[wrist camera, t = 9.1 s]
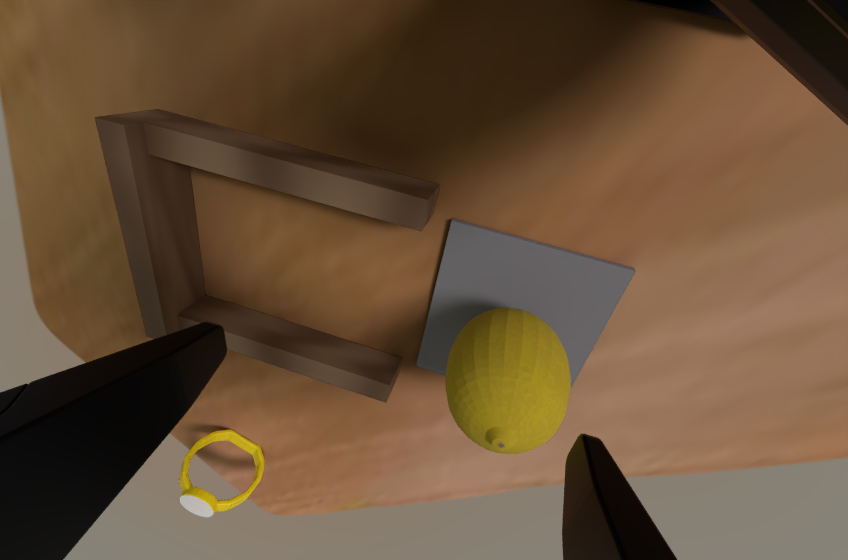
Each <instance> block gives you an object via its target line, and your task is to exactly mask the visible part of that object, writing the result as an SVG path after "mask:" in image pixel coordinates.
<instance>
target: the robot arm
mask: <svg viewBox="0 0 848 560" xmlns="http://www.w3.org/2000/svg"><path fill="white" fill-rule="evenodd" d="M627 1H632V2H637V3H642V4H646V5H651V6H656V7H661V8H666V9H671V10H676V11H681V12H686V13H691V14H696V15H700V16H705V17H710V18H715V19H720V20H725V21H730V22H734V23H736V24H737V25H738V26H739V27H740V28H741V29H742V30H743V31H744V32H745V33H747V34H748V35H749V36H750V37H751V38H752V39H753V40H754V41H755V42H756V43H758V44H759V45H760V46H761V47H762V48H763V49H764V50H765V51H766V52H767V53H769V54H770V55H771V56H772V57H773V58H774V59H775V60H776V61H777V62H778V63H780V64H781V65H782V66H783V67H784V68H785V69H786V70H787V71H788V72H789V73H791V74H792V75H793V76H794V77H795V78H796V79H797V80H798V81H799V82H800V83H802V84H803V85H804V86H805V87H806V88H807V89H808V90H809V91H810V92H812V93H813V94H814V95H815V96H816V97H817V98H818V99H819V100H820V101H821V102H823V103H824V104H825V105H826V106H827V107H828V108H829V109H830V110H831V111H832V112H834V113H835V114H836V115H837V116H838V117H839V118H840V119H841V120H842V121H843V122H845V123H846V124H847V125H848V0H627ZM226 353H227V345H226V339H225V332H224V328H223V327H222V326H221V325H219V324H216V323H212V322H202V323H199V324H197V325H194V326H191V327H188V328H185V329H182V330H179V331H176V332H174V333H171V334H168V335H165V336H162V337H159V338H156V339H153V340H151V341H148V342H145V343H142V344H139V345H136V346H133V347H130V348H128V349H125V350H122V351H119V352H116V353H113V354H110V355H107V356H104V357H102V358H99V359H96V360H93V361H90V362H87V363H84V364H82V365H79V366H76V367H73V368H70V369H67V370H65V371H61V372H58V373H56V374H53V375H50V376H47V377H44V378H41V379H38V380H35V381H33V382H31V383H29V384H24V385H21V386H18V387H15V388H12V389H9V390H6V391H4V392H1V393H0V560H63V559H64V558H65V557H66V556H67V554H68V553H69V552H70V551H71V550H72V548H73V547H74V546H75V545H76V544H77V543H78V541H79V540H80V539H81V538H82V537H83V535H84V534H85V533H86V532H87V531H88V529H89V528H90V527H91V526H92V525H93V523H94V522H95V521H96V520H97V519H98V517H99V516H100V515H101V514H102V513H103V511H104V510H105V509H106V508H107V507H108V506H109V504H110V503H111V502H112V501H113V500H114V498H115V497H116V496H117V495H118V494H119V492H120V491H121V490H122V489H123V488H124V486H125V485H126V484H127V483H128V482H129V481H130V479H131V478H132V477H133V476H134V475H135V473H136V472H137V471H138V470H139V469H140V467H141V466H142V465H143V464H144V463H145V462H146V460H147V459H148V458H149V457H150V456H151V454H152V453H153V452H154V451H155V449H156V448H157V447H158V446H159V445H160V444H161V442H162V441H163V440H164V439H165V437H166V436H167V435H168V434H169V433H170V432H171V431H172V429H173V428H174V427H175V426H176V425H177V423H178V422H179V421H180V420H181V419H182V417H183V416H184V415H185V414H186V412H187V411H188V410H189V409H190V407H191V406H192V405H193V403H194V402H195V401H196V399H197V398H198V396H199V395H200V393H201V392H202V390H203V389H204V387H205V386H206V384H207V383H208V382H209V380H210V379H211V377H212V376H213V374H214V373H215V371H216V370H217V368H218V367H219V366H220V364H221V363H222V361H223V360H224V358H225V356H226ZM562 527H563V528H562V540H563V560H677V558H676V557H675V555H674V554H673V552H672V551H671V549H670V547H669V546H668V544H667V543H666V541H665V540H664V538H663V537H662V535H661V533H660V532H659V530H658V529H657V527H656V525H655V524H654V522H653V521H652V519H651V517H650V516H649V514H648V513H647V511H646V510H645V508H644V506H643V505H642V503H641V502H640V500H639V499H638V497H637V496H636V494H635V492H634V491H633V489H632V488H631V486H630V485H629V483H628V481H627V480H626V478H625V477H624V475H623V474H622V472H621V470H620V469H619V467H618V466H617V464H616V463H615V461H614V459H613V458H612V456H611V455H610V453H609V452H608V450H607V448H606V447H605V445H604V444H603V442H602V441H601V440H600V439H599V438H597V437H593V436H590V435H587V434H580V435H579V436H578V438H577V440H576V441H575V443H574V445H573V447H572V448H571V450H570V452H569V454H568V456H567V460H566V468H565V486H564V505H563V525H562Z"/></svg>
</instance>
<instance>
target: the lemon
mask: <svg viewBox="0 0 848 560" xmlns="http://www.w3.org/2000/svg"><path fill="white" fill-rule="evenodd" d="M445 383H446V392H447V399H448V405H449V408H450V411H451V413H452V415H453V417H454V419H455V421H456V423H457V425H458V426H459V428H460V429H461V430H462V431H463V432H464V433H465V434H466V436H467V437H468V438H470V439H471V440H472V441H474V442H475V443H476V444H478V445H479V446H481V447H483V448H485V449H487V450H490V451H493V452H497V453H503V454H518V453H523V452H527V451H530V450H532V449H535V448H537V447H539V446H540V445H542V444H544V443H545V442H546V441H547V440H548V439H550V438H551V437H552V436H553V434H554V433H555V432H556V430H557V429H558V427H559V425H560V424H561V422H562V420H563V418H564V415H565V413H566V409H567V404H568V400H569V395H570V388H571V376H570V369H569V363H568V358H567V354H566V352H565V349H564V347H563V345H562V343H561V341H560V340H559V338H558V336H557V334H556V333H555V332H554V331H553V330H552V329H551V328H550V327H549V325H548V324H547V323H546V322H545V321H543V320H542V319H540V318H539V317H537V316H536V315H534V314H532V313H529V312H527V311H524V310H521V309H515V308H496V309H493V310H489V311H486V312H483V313H482V314H480V315H478V316H476V317H475V318H473V319H472V320H471V321H470V322H469V323H468V324H467V325H466V326H465V327H464V328H463V329H462V330H461V331H460V333H459V334H458V336H457V338H456V340H455V342H454V343H453V345H452V348H451V350H450V353H449V357H448V362H447V368H446V379H445Z"/></svg>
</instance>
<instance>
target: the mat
mask: <svg viewBox="0 0 848 560" xmlns="http://www.w3.org/2000/svg"><path fill="white" fill-rule="evenodd" d="M635 272H636V271H635V269H634V268H631V267H627V266H623V265H620V264H616V263H613V262H609V261H605V260H602V259H598V258H594V257H591V256H587V255H584V254H580V253H576V252H573V251H569V250H566V249H562V248H558V247H555V246H551V245H547V244H544V243H540V242H537V241H533V240H529V239H526V238H522V237H518V236H515V235H511V234H508V233H504V232H500V231H497V230H493V229H489V228H486V227H482V226H479V225H475V224H471V223H468V222H464V221H460V220H457V219H452V221H451V225H450V229H449V233H448V237H447V241H446V245H445V249H444V253H443V257H442V261H441V265H440V270H439V274H438V278H437V282H436V286H435V290H434V294H433V298H432V302H431V306H430V310H429V314H428V318H427V322H426V326H425V330H424V334H423V338H422V343H421V347H420V351H419V355H418V359H417V363H416V366H418V367H421V368H424V369H427V370H430V371H433V372H437V373H440V374H443V375H446V368H447V362H448V357H449V353H450V350H451V348H452V345H453V343H454V342H455V340H456V338H457V336H458V334H459V333H460V331H461V330H462V329H463V328H464V327H465V326H466V325H467V324H468V323H469V322H470V321H471V320H472V319H473V318H475V317H476V316H478V315H480V314H482V313H483V312H486V311H489V310H493V309H496V308H515V309H521V310H524V311H527V312H529V313H532V314H534V315H536V316H537V317H539V318H540V319H542V320H543V321H545V322H546V323H547V324H548V325H549V327H550V328H551V329H552V330H553V331H554V332H555V333H556V334H557V336H558V338H559V340H560V341H561V343H562V345H563V347H564V349H565V352H566V354H567V358H568V363H569V369H570V376H571V387H572V385H573V383H574V381H575V379H576V378H577V376H578V374H579V372H580V370H581V369H582V367H583V365H584V363H585V361H586V360H587V358H588V356H589V354H590V352H591V351H592V349H593V347H594V345H595V344H596V342H597V340H598V338H599V336H600V335H601V333H602V331H603V329H604V327H605V326H606V324H607V322H608V320H609V318H610V317H611V315H612V313H613V311H614V309H615V308H616V306H617V304H618V302H619V300H620V299H621V297H622V295H623V293H624V291H625V290H626V288H627V286H628V284H629V282H630V281H631V279H632V277H633V275H634V273H635Z"/></svg>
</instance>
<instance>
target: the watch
mask: <svg viewBox="0 0 848 560" xmlns="http://www.w3.org/2000/svg"><path fill="white" fill-rule="evenodd" d="M223 440H229V441H231V442H232V443H234V444H236V445H237V446H239V447H240V448H242V449H244V450H245V451H247V452H248V453H250V454H252V455H253V459H254V462H255V466H256V471H255V476H254V480H253V483H252V485H251V486H250V487H249V488H248V490H247V491H246V492H244V493H242V494H240V495H238V496H236V497H234V498H233V499H231V500H217V499H216V498H215V497H214V496H213V495H212V494H211V493H209V492H207V491H206V490H203V489H201V488H198V487H192V484H191V482H190V479H189V476H188V468H189V463H190V460H191V458H192V457H193V456H194V454H195V453H196V452H197V450H199V449H201V448H202V447H204V446H206V445H208V444H209V443H211V442H215V441H223ZM264 461H265V460H264V457H263V453H262V449H261V447H259V445H256V444H255V443H253V442H252V441H249V440H248V439H246V438H245V437H243V436H241V435H240V434H238V433H237V432H235V431H233V430H232V429H228V430H219V431H215V432H212V433H210V434H208V435H206V436H204V437H203V438H201V439H199V440H198V441H197V442H196V443H195V444H194V445H193V447H192V448H191V449H190V451H189V452H188V453H187V455H186V457H185V459H184V461H183V463H182V467H181V472H180V477H179V481H180V482H179V484H180V487H181V489H182V492H183V493H182V495H181V496H180V502H181V504H182V505H183V506H184V507H185V508H186V509H187V510H189V511H190V512H192V513H194V514H196V515H198V516H202V517H211V516H212V515H213V514H214V513H215V511H226V510H229V509H231V508H233V507H235V506H236V505H238V504H240V503H242V502H244V500H246V499H247V498H248V496H249V495H250V494H251V492H252V491H253V490H254V489H255V487H256V486H257V484H258V483H259V482H260V479H261V478H262V474H263V469H264V464H265V463H264Z"/></svg>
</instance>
